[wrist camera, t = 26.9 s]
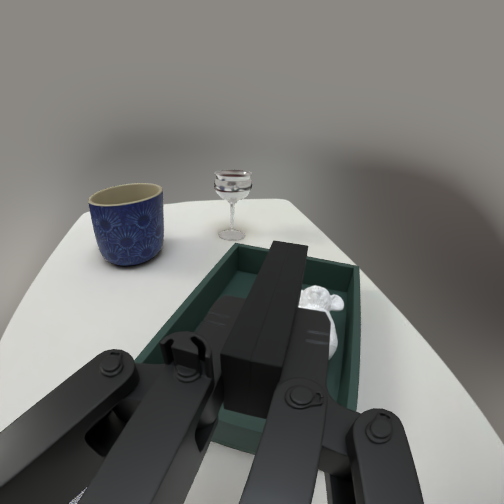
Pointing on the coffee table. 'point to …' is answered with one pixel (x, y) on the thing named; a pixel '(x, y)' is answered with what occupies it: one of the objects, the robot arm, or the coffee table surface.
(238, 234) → the wineglass
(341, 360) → the bin
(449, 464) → the coffee table surface
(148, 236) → the planter
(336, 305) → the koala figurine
